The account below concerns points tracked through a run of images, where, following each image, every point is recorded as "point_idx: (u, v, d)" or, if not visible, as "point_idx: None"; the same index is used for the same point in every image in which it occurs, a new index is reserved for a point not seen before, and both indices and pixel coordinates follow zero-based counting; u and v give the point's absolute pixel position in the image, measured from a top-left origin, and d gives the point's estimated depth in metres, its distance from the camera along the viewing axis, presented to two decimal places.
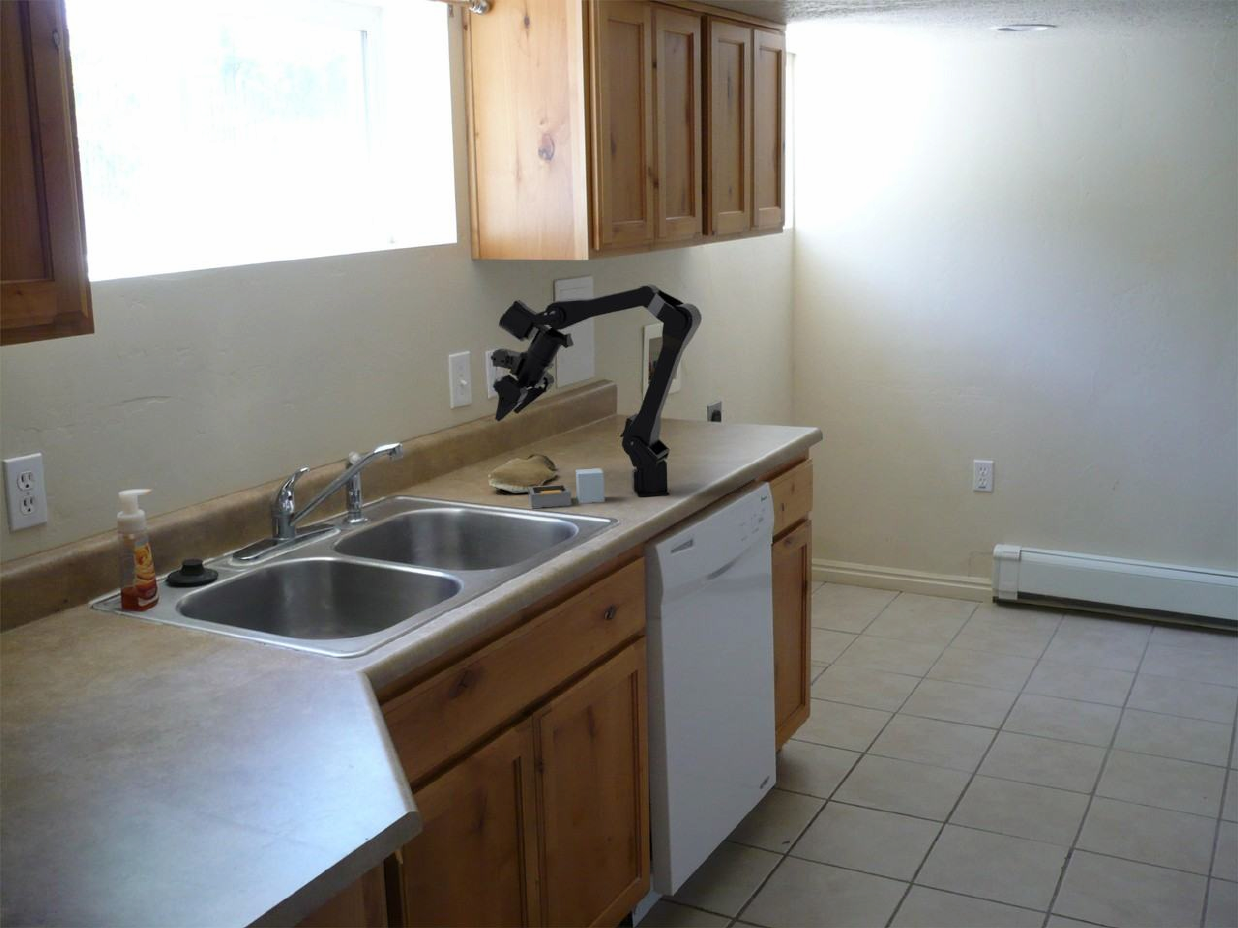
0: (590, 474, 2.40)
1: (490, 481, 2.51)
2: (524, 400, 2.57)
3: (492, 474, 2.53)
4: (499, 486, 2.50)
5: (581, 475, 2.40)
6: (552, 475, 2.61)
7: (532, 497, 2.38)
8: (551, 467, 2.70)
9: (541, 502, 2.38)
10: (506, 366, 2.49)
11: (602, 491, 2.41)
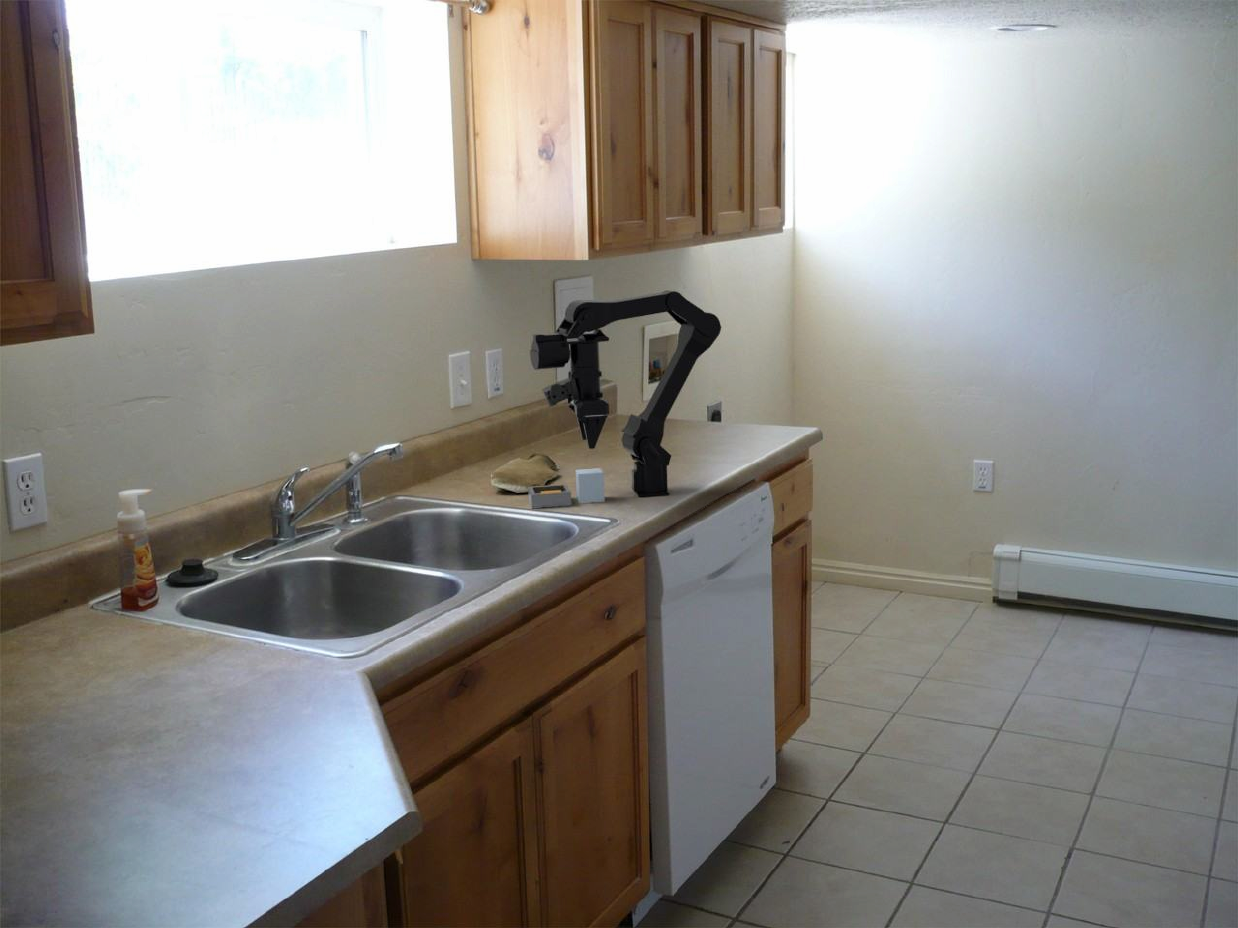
0: (590, 474, 2.40)
1: (492, 481, 2.51)
2: None
3: (494, 474, 2.53)
4: (501, 486, 2.50)
5: (581, 475, 2.40)
6: (554, 475, 2.62)
7: (532, 497, 2.38)
8: (552, 467, 2.70)
9: (541, 502, 2.38)
10: (565, 397, 2.36)
11: (602, 491, 2.41)
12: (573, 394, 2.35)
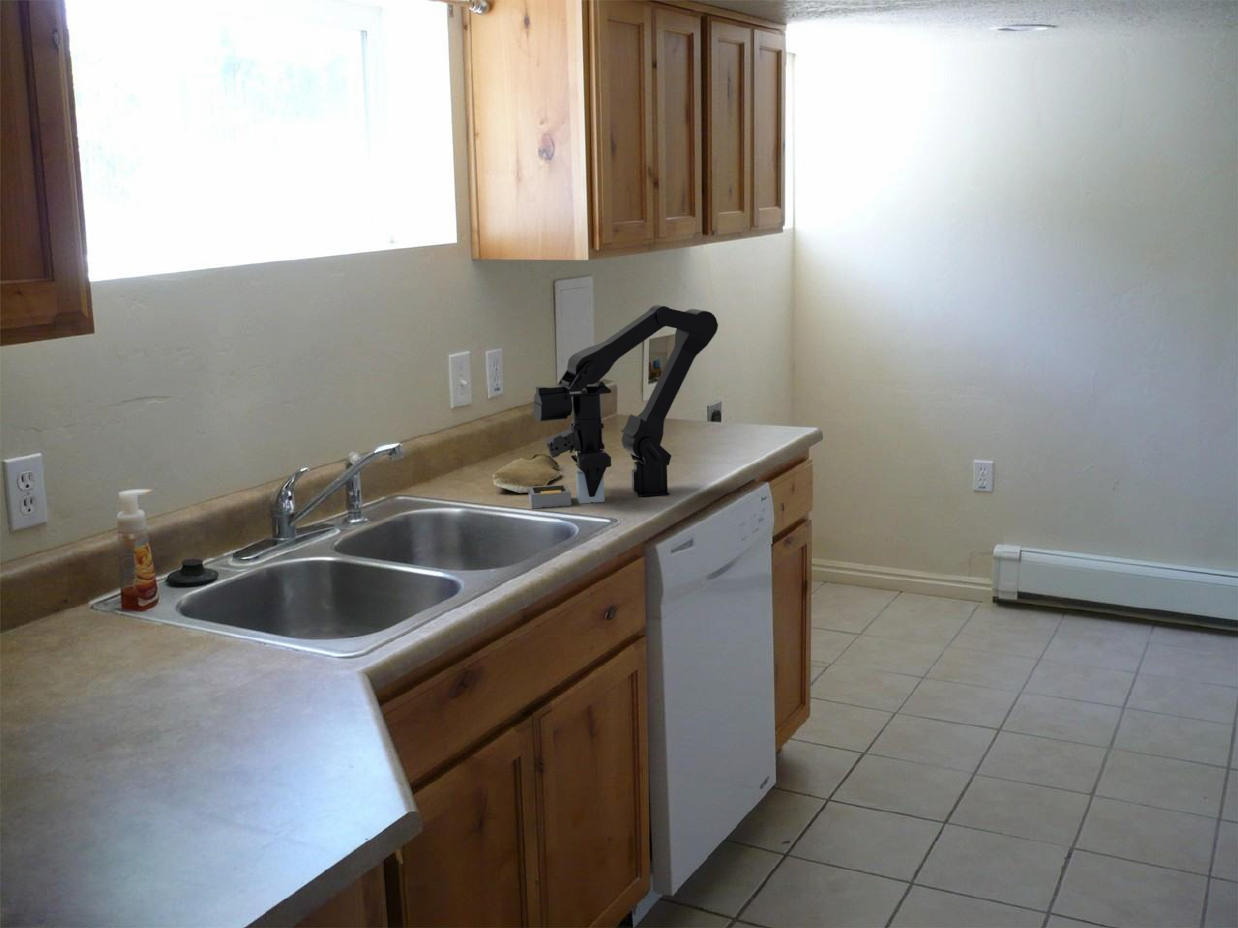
0: None
1: (495, 481, 2.51)
2: None
3: (497, 474, 2.53)
4: (504, 486, 2.50)
5: (581, 475, 2.40)
6: (556, 475, 2.61)
7: (532, 497, 2.38)
8: (555, 467, 2.70)
9: (541, 502, 2.38)
10: (567, 448, 2.38)
11: (602, 491, 2.41)
12: (575, 446, 2.37)
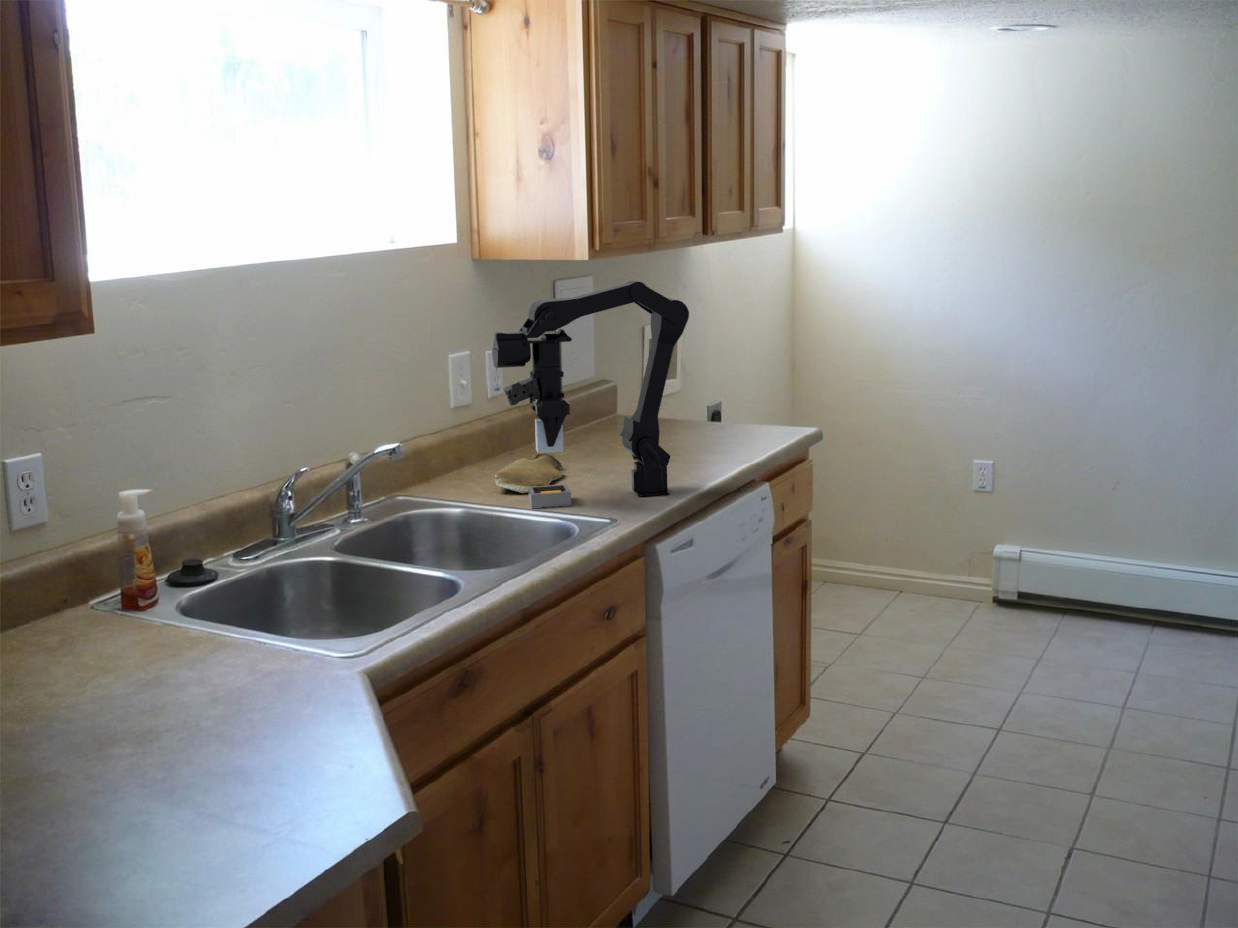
0: None
1: (497, 481, 2.51)
2: None
3: (499, 474, 2.53)
4: (506, 486, 2.50)
5: (540, 424, 2.36)
6: (559, 475, 2.61)
7: (532, 497, 2.38)
8: (558, 467, 2.70)
9: (541, 502, 2.38)
10: (526, 396, 2.34)
11: (561, 441, 2.37)
12: (534, 394, 2.34)
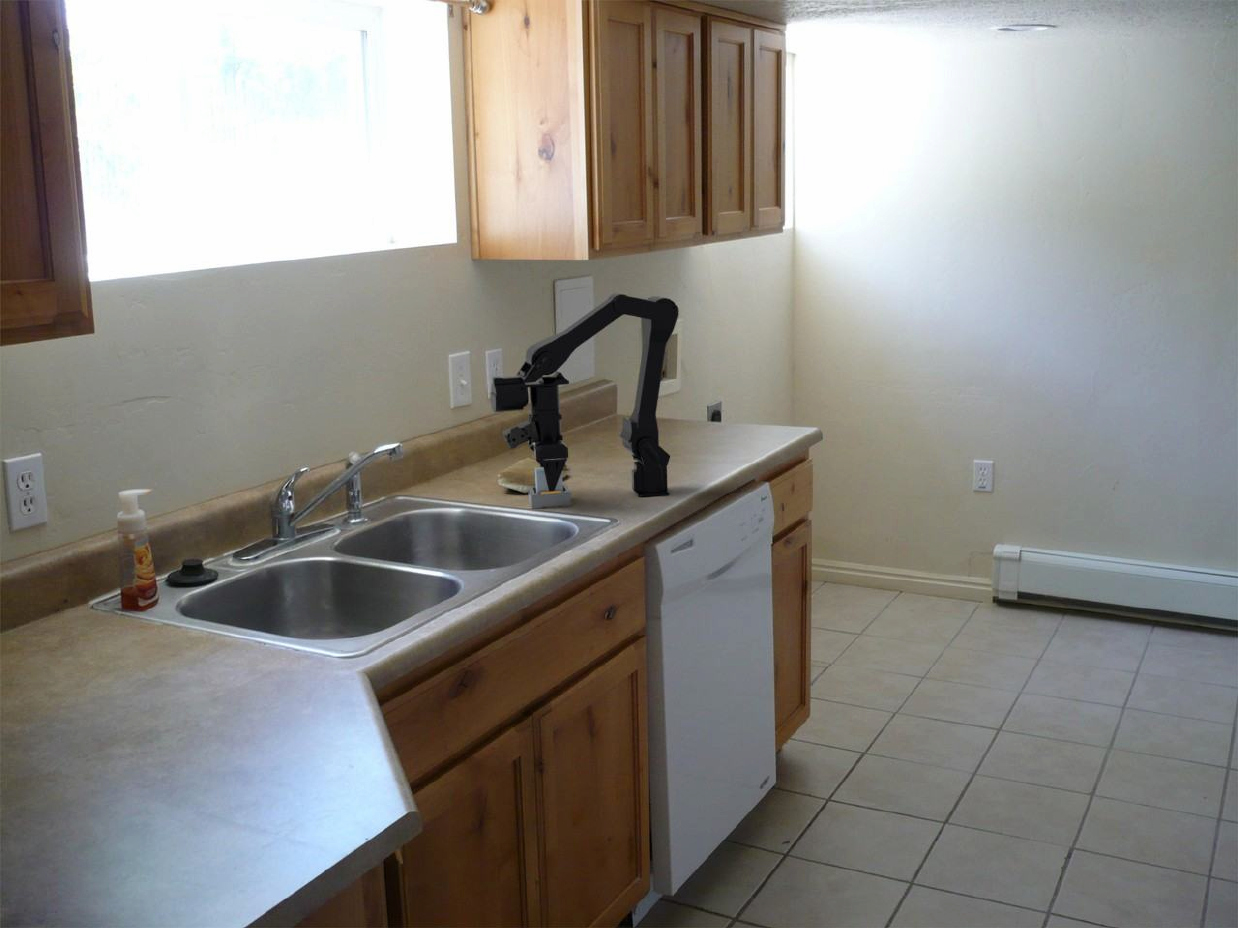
0: None
1: (500, 481, 2.51)
2: None
3: (502, 474, 2.53)
4: (509, 486, 2.50)
5: (539, 473, 2.38)
6: (562, 475, 2.61)
7: (532, 497, 2.38)
8: None
9: (541, 502, 2.38)
10: (525, 439, 2.36)
11: (561, 489, 2.40)
12: (533, 437, 2.36)
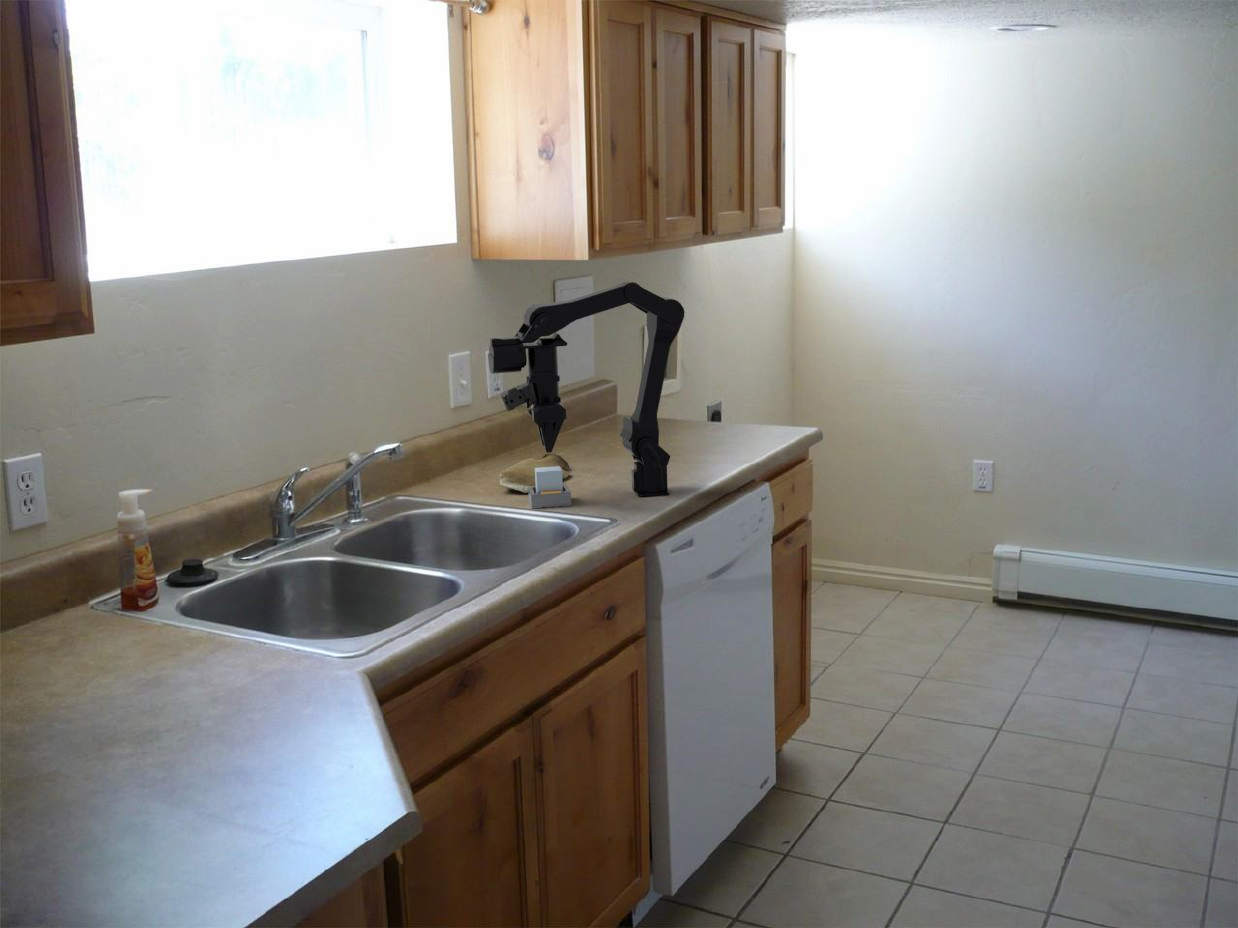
0: (548, 472, 2.38)
1: (501, 480, 2.52)
2: None
3: (503, 473, 2.54)
4: (510, 485, 2.50)
5: (539, 473, 2.38)
6: (564, 475, 2.61)
7: (532, 497, 2.38)
8: (565, 467, 2.70)
9: (541, 502, 2.38)
10: (523, 401, 2.34)
11: (561, 489, 2.40)
12: (531, 399, 2.34)
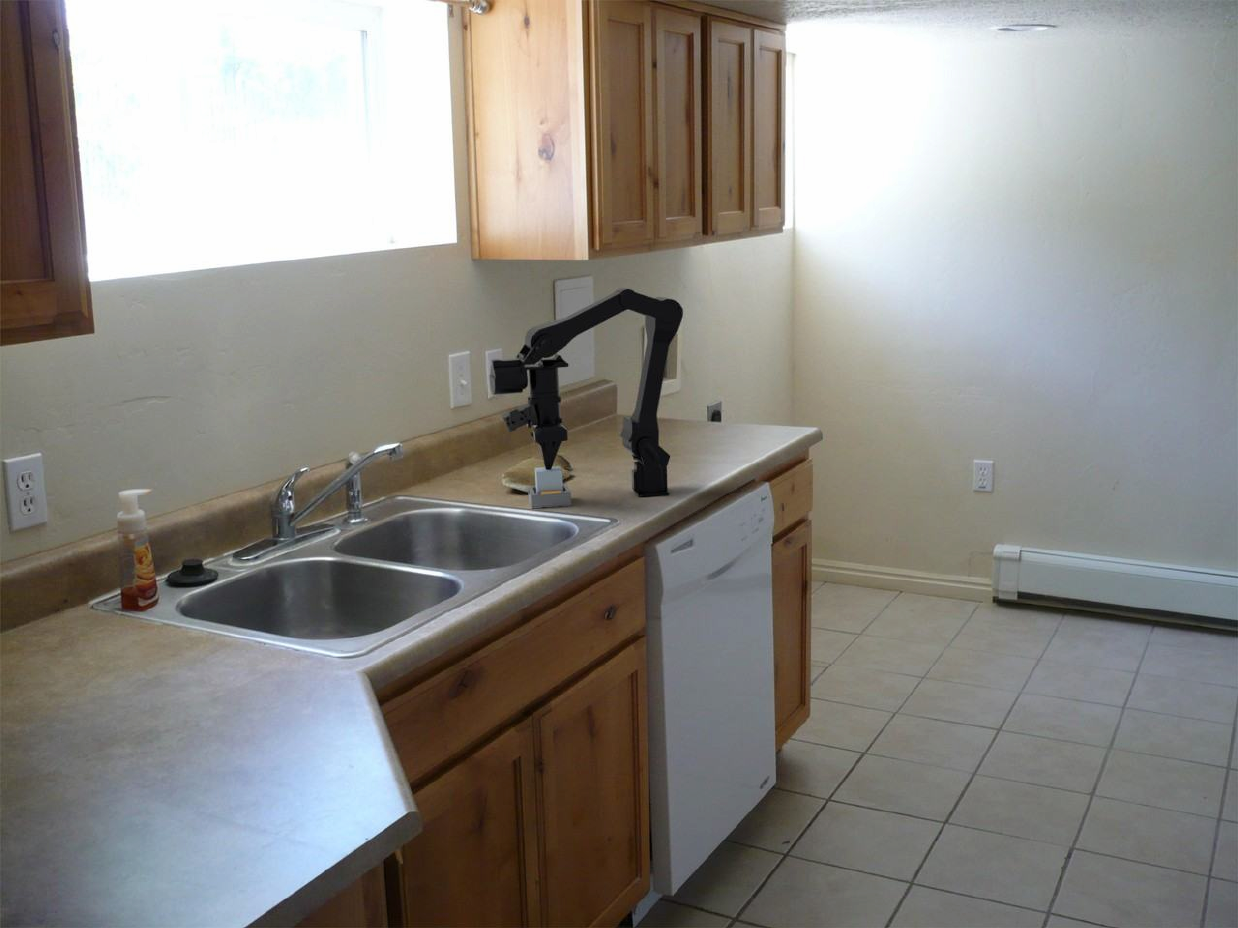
0: (548, 472, 2.38)
1: (504, 480, 2.51)
2: None
3: (506, 473, 2.53)
4: (512, 485, 2.50)
5: (539, 473, 2.38)
6: (567, 475, 2.61)
7: (532, 497, 2.38)
8: (566, 467, 2.70)
9: (541, 502, 2.38)
10: (524, 422, 2.35)
11: (561, 489, 2.40)
12: (532, 420, 2.35)
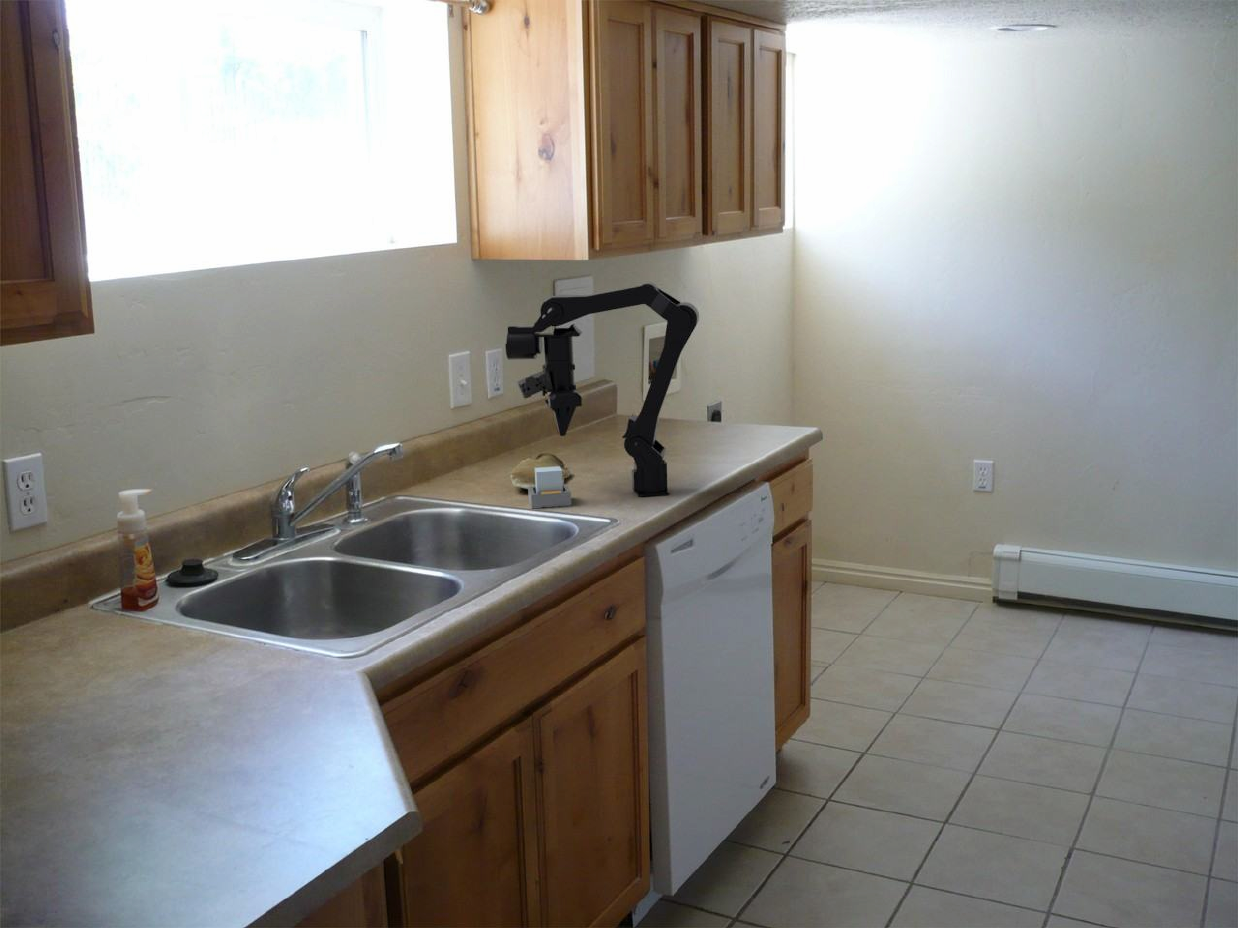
0: (548, 472, 2.38)
1: (514, 481, 2.50)
2: None
3: (514, 474, 2.53)
4: (524, 486, 2.49)
5: (539, 473, 2.38)
6: (568, 473, 2.62)
7: (532, 497, 2.38)
8: (560, 466, 2.71)
9: (541, 502, 2.38)
10: (539, 389, 2.42)
11: (561, 489, 2.40)
12: (547, 386, 2.42)
